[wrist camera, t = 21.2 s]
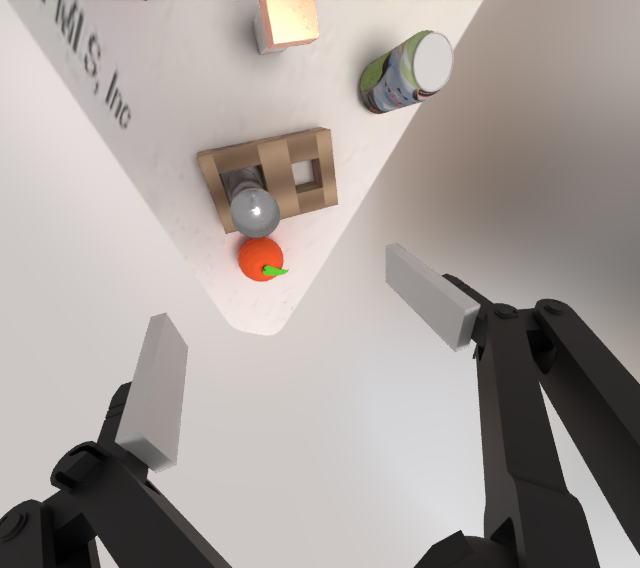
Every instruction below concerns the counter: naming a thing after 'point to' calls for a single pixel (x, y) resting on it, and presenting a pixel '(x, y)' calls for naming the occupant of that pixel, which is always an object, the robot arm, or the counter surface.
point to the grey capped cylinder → (252, 205)
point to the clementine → (261, 259)
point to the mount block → (276, 171)
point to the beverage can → (408, 73)
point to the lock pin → (285, 24)
